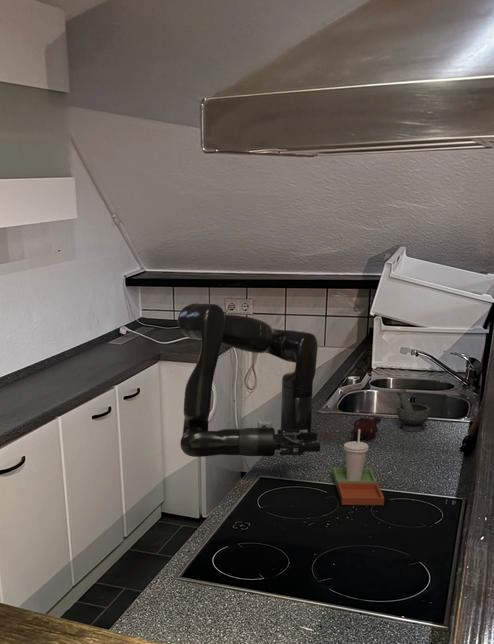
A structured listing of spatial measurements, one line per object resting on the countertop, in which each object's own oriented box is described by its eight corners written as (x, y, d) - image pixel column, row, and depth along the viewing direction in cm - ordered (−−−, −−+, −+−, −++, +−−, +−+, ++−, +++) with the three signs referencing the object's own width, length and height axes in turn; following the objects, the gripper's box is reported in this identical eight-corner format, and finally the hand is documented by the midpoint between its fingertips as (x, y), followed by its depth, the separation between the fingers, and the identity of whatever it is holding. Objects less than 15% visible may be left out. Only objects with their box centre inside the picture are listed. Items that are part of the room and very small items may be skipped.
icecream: (365, 427, 225) (391, 420, 235) (344, 416, 229) (371, 410, 239) (357, 448, 228) (383, 440, 238) (337, 437, 233) (364, 429, 243)
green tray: (332, 474, 208) (332, 467, 207) (370, 474, 207) (370, 467, 206) (336, 488, 199) (336, 481, 198) (376, 488, 198) (377, 481, 197)
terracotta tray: (336, 489, 198) (337, 482, 197) (377, 489, 197) (377, 482, 196) (341, 504, 188) (342, 497, 188) (383, 505, 188) (384, 498, 187)
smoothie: (366, 484, 199) (370, 433, 194) (341, 483, 201) (344, 432, 195) (365, 475, 205) (369, 426, 200) (341, 474, 206) (344, 425, 201)
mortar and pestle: (434, 428, 242) (437, 392, 238) (416, 435, 237) (420, 397, 233) (403, 421, 251) (406, 385, 246) (386, 427, 245) (389, 391, 241)
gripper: (257, 437, 193) (322, 436, 192) (255, 420, 207) (316, 420, 205) (256, 464, 196) (320, 464, 195) (255, 446, 209) (315, 446, 208)
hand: (318, 441), depth 200 cm, fingers open, 8 cm apart
